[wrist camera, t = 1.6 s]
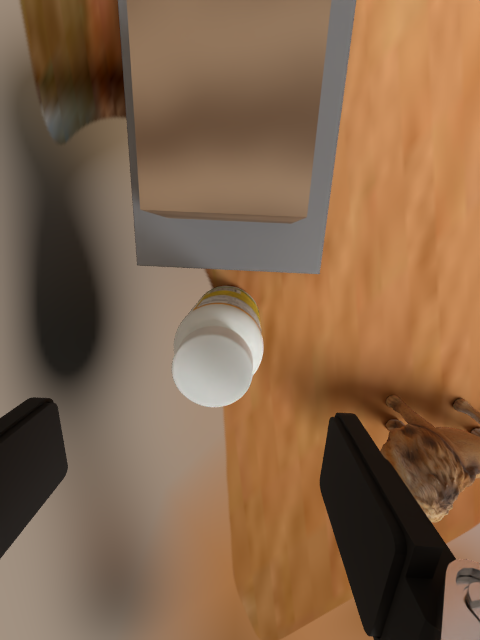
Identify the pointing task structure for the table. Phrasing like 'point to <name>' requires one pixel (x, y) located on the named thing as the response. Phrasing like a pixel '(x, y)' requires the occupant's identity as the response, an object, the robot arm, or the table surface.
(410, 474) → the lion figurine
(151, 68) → the walnut block
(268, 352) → the table surface
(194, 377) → the supplement bottle
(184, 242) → the base plate
